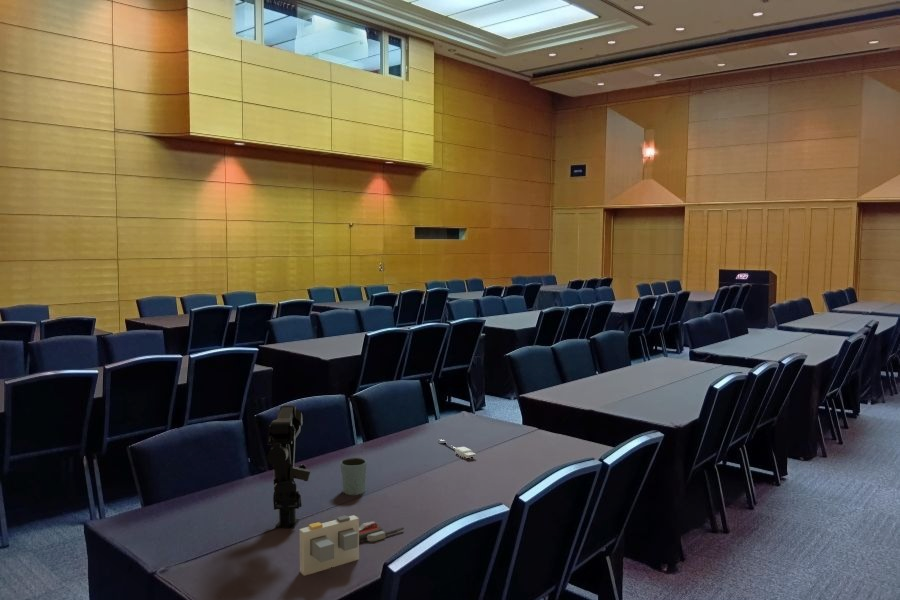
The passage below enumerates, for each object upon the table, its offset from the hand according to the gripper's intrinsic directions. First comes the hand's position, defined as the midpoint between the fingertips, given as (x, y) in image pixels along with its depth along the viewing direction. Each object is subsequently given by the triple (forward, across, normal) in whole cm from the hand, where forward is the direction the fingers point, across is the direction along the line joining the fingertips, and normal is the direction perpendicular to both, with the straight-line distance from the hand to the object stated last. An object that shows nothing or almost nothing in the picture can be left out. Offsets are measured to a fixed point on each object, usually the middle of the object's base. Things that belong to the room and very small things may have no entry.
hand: (286, 510), depth 214 cm
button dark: (+10, -14, -16) cm, 23 cm away
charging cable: (+4, +84, -80) cm, 116 cm away
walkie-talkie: (+14, +3, -27) cm, 31 cm away
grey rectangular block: (+10, -20, -8) cm, 24 cm away
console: (+15, -14, -11) cm, 24 cm away
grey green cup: (+7, +44, -26) cm, 52 cm away
